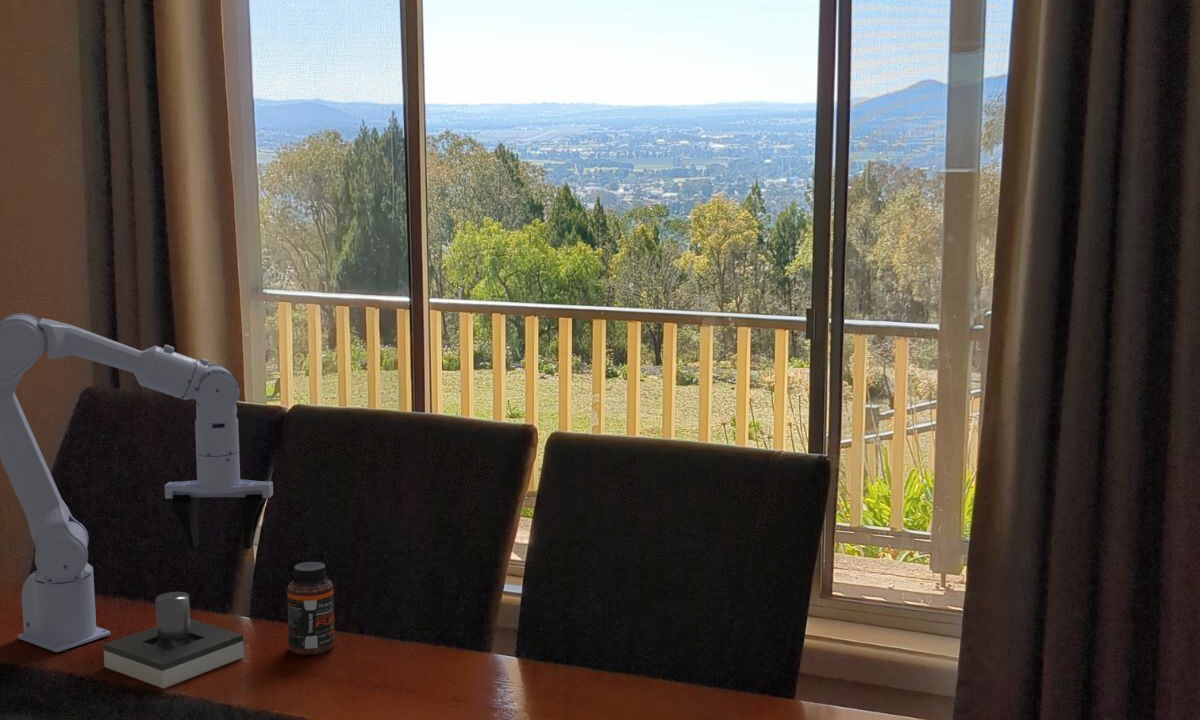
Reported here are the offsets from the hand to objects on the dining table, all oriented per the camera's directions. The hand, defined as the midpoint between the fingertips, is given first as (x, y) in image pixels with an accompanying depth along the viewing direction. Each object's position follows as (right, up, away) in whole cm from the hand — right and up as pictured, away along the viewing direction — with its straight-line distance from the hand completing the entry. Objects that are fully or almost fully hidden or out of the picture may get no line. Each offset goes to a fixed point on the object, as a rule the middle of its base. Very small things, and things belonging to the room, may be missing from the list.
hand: (221, 547), depth 162 cm
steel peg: (-1, -12, -15) cm, 19 cm away
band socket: (-1, -12, -15) cm, 19 cm away
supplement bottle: (+15, -12, -10) cm, 22 cm away
